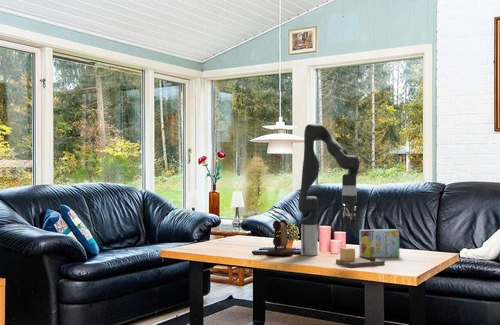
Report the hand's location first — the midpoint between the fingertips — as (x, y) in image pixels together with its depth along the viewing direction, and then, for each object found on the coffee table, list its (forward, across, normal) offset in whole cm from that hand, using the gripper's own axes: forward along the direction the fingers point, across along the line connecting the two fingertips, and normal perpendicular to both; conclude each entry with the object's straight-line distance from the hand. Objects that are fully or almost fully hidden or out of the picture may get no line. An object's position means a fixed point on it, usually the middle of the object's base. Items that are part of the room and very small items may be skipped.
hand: (349, 225), depth 282 cm
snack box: (+20, -19, +26) cm, 38 cm away
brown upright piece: (+20, -38, -25) cm, 50 cm away
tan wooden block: (+18, -1, -1) cm, 18 cm away
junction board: (+20, +1, +5) cm, 20 cm away
